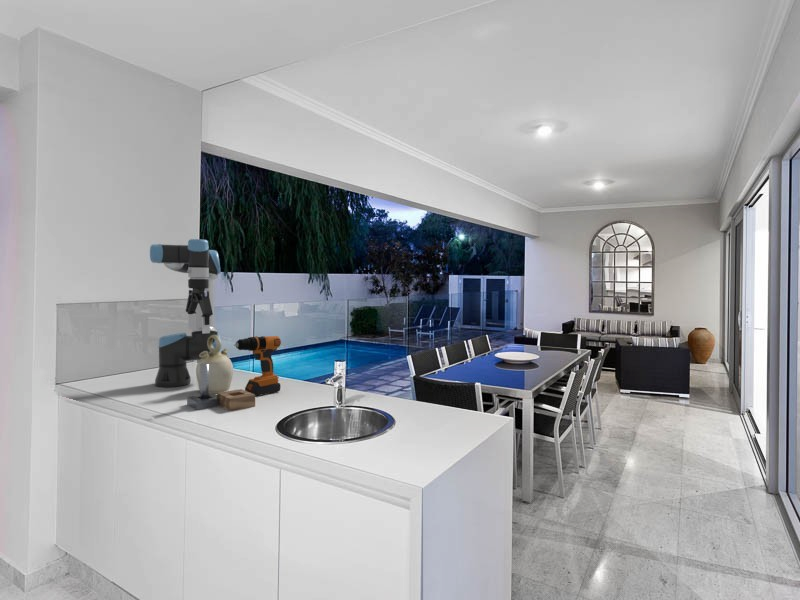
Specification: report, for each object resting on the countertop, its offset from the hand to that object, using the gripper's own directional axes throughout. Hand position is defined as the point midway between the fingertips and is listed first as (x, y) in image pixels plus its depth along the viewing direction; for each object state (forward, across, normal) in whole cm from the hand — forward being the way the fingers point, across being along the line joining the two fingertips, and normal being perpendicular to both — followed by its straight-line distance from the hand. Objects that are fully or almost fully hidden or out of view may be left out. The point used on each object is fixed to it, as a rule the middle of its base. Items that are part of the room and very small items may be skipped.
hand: (198, 331), depth 195 cm
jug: (+29, -14, +12) cm, 34 cm away
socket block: (+28, +8, -1) cm, 29 cm away
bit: (+28, +8, -1) cm, 29 cm away
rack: (+28, +16, +8) cm, 34 cm away
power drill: (+29, +4, +24) cm, 38 cm away
